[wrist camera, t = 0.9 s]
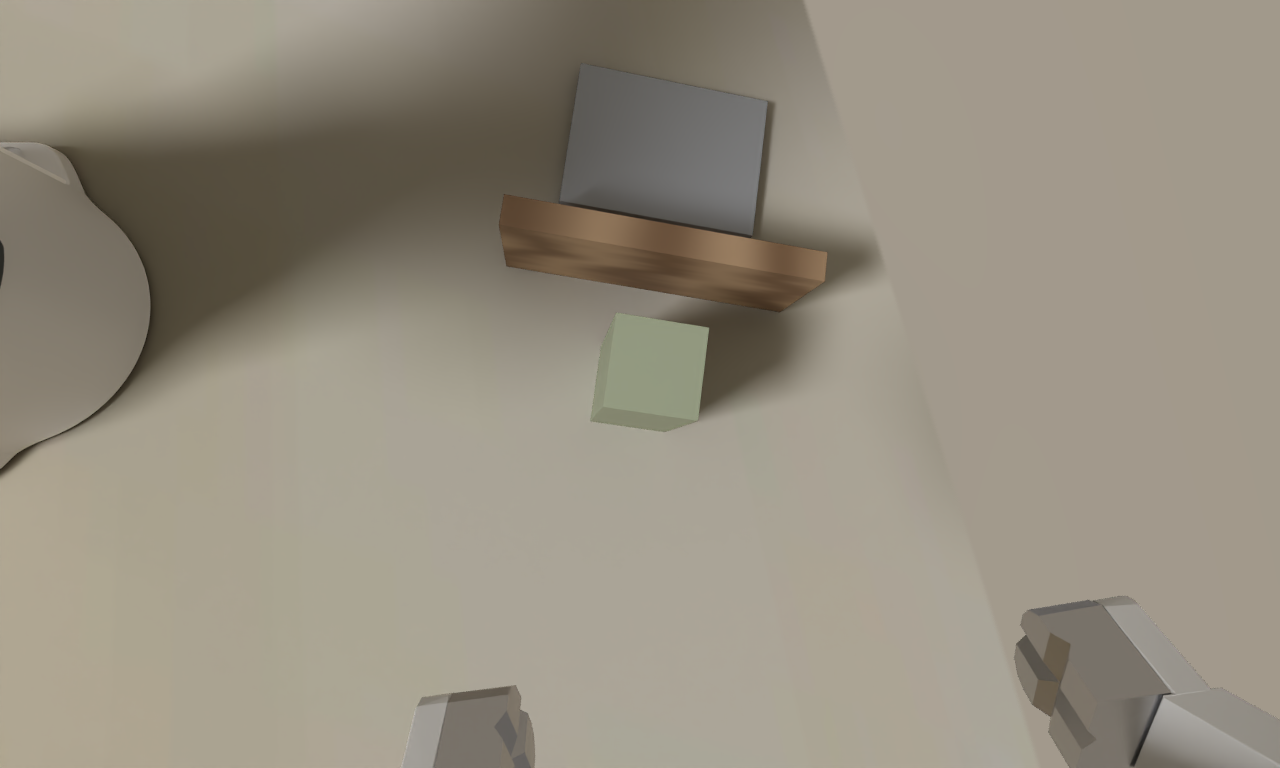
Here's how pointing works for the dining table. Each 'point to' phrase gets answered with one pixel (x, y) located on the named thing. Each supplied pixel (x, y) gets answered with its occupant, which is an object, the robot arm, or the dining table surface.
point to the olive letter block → (650, 373)
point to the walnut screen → (656, 255)
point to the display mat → (664, 152)
